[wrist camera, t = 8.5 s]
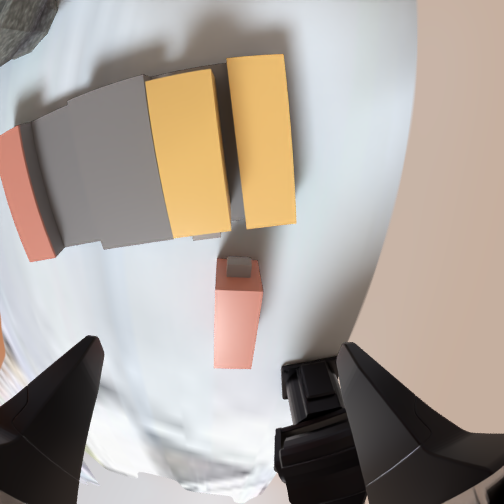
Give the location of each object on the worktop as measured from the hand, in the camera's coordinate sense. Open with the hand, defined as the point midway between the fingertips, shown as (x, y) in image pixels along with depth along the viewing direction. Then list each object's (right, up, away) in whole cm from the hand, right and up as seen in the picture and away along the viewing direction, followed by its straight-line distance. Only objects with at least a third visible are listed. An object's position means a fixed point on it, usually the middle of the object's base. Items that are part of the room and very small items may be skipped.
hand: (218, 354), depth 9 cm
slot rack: (-7, +10, +7) cm, 14 cm away
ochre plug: (-2, +10, +6) cm, 12 cm away
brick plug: (0, 0, +14) cm, 14 cm away
